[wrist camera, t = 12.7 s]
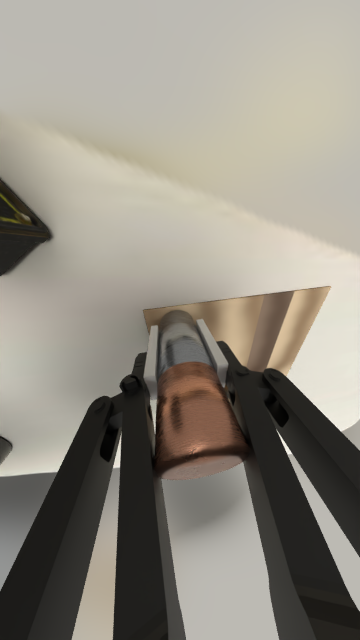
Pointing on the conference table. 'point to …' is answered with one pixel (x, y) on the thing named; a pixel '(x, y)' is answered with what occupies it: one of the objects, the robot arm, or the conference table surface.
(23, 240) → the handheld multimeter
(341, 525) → the robot arm
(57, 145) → the conference table surface
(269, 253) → the conference table surface
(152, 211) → the conference table surface
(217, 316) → the plywood sheet
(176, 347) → the copper and grey cylinder
